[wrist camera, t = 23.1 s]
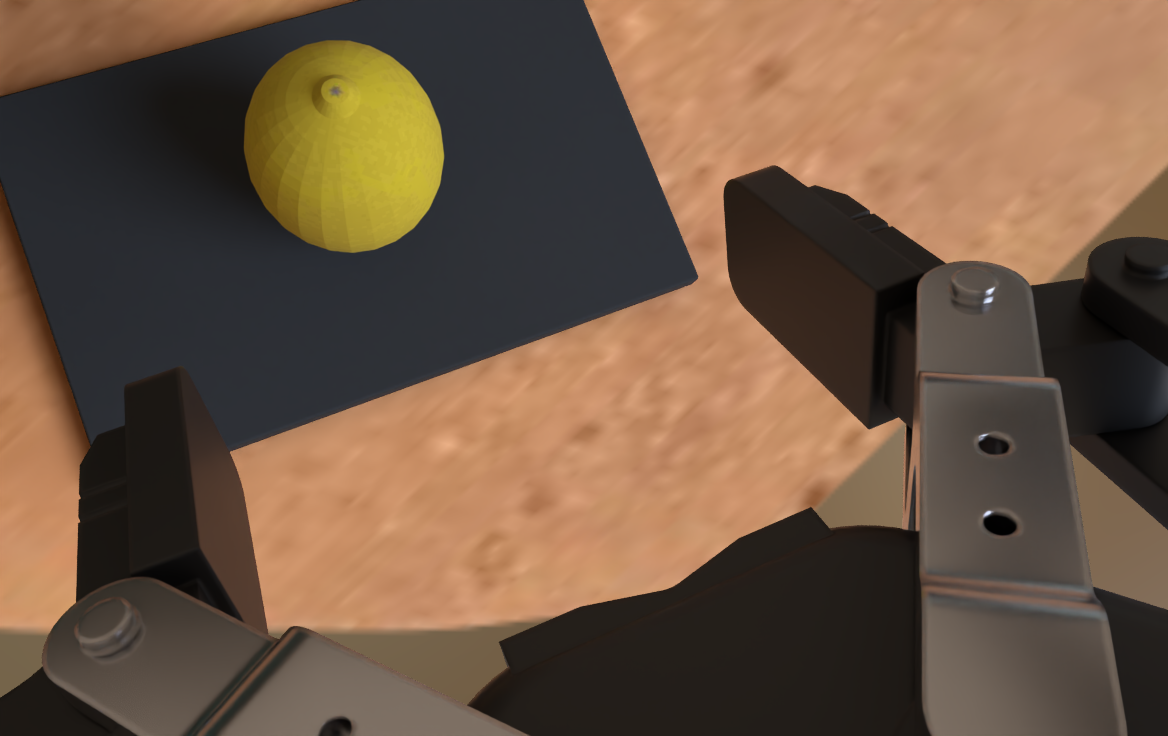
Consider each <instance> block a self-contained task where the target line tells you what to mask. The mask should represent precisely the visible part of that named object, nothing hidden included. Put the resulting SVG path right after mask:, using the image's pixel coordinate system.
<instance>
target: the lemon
mask: <svg viewBox="0 0 1168 736" xmlns="http://www.w3.org/2000/svg"><path fill="white" fill-rule="evenodd" d="M244 153H245V158H246V162H247V166H248V171H249V175H250V179H251V182H252V183H253V185H254V187H255V189H256V191H257V193H258V195H259V197H260V198H261V200H262V202H263V204H264V206H265V207H266V209H267V210H268V211H269V212H270V213H271V214H272V215H273V216H274V217H275V218H276V219H277V221H278V222H279V223H280V224H281V225H282V226H283V227H284V228H285V229H287V230H288V231H290V232H291V233H293V234H294V235H296V236H297V237H299V238H301V239H302V240H304V241H305V242H307V243H310V244H312V245H315V246H318V247H321V248H324V249H327V250H330V251H339V252H349V253H356V252H362V251H369V250H375V249H378V248H380V247H383V246H385V245H388V244H390V243H393V242H395V241H397V240H398V239H399V238H401V237H402V236H404V235H405V234H406V233H408V232H409V231H410V230H412V229H413V228H414V227H415V226H416V225H417V224H418V222H419V221H420V220H421V219H422V217H423V216H424V215H425V214H426V212H427V211H428V210H429V208H430V206H431V204H432V202H433V199H434V197H435V195H436V193H437V190H438V188H439V186H440V181H441V175H442V168H443V161H444V150H443V142H442V134H441V128H440V124H439V122H438V119H437V117H436V114H435V112H434V109H433V107H432V104H431V102H430V99H429V97H428V96H427V94H426V93H425V91H424V90H423V89H422V87H421V86H420V84H419V83H418V82H417V80H416V79H415V78H414V76H413V75H412V74H411V73H410V72H409V71H408V70H407V69H406V68H405V67H403V66H402V65H401V64H400V63H399V62H397V61H396V60H395V59H394V58H393V57H391V56H389V55H387V54H385V53H383V52H381V51H379V50H377V49H375V48H373V47H371V46H369V45H365V44H361V43H357V42H353V41H342V40H326V41H321V42H317V43H312V44H308V45H305V46H302V47H300V48H298V49H296V50H294V51H292V52H290V53H288V54H286V55H285V56H284V57H283V58H281V59H280V60H279V61H278V62H277V63H276V64H274V65H273V66H272V67H271V68H270V69H269V70H268V71H267V73H266V74H265V75H264V77H263V78H262V80H261V81H260V83H259V84H258V86H257V87H256V89H255V91H254V93H253V96H252V99H251V102H250V105H249V108H248V111H247V114H246V118H245V134H244Z"/></svg>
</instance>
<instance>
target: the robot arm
mask: <svg viewBox="0 0 1168 736" xmlns="http://www.w3.org/2000/svg"><path fill="white" fill-rule="evenodd" d="M724 212H725V228H726V244H727V260H728V272H729V277H730V281H731V284H732V287H733V290H734V292H735V294H736V296H737V298H738V300H739V301H740V303H741V304H742V306H743V307H744V308H745V309H746V310H747V311H748V312H749V313H750V314H751V315H752V316H753V317H754V318H755V319H756V320H757V321H758V322H759V323H760V324H761V325H762V326H763V327H765V328H766V329H767V330H768V331H769V332H770V333H771V334H772V335H773V336H774V337H775V338H776V339H777V340H778V341H779V342H780V343H781V344H782V345H783V346H784V347H785V348H786V349H787V350H788V351H789V352H790V353H791V354H792V355H793V356H794V357H795V358H796V359H797V360H798V361H799V362H800V363H801V364H802V365H803V366H804V367H805V368H806V369H807V370H808V371H809V372H811V373H812V374H813V375H814V376H815V377H816V378H817V379H818V380H819V381H820V382H821V383H822V384H823V385H824V386H825V387H826V388H827V389H828V390H829V391H830V392H831V393H832V394H833V395H834V396H835V397H836V398H837V399H838V400H839V401H840V402H841V403H842V404H843V405H844V406H845V407H846V408H847V409H848V410H849V411H850V412H851V413H852V414H853V415H854V416H855V417H857V418H858V419H859V420H860V421H861V422H862V423H863V424H864V425H865V426H866V427H867V428H868V429H872V428H874V427H876V426H879V425H881V424H883V423H886V422H888V421H891V420H893V419H895V418H898V417H899V418H900V419H901V420H902V421H903V422H904V423H906V427H905V439H904V484H903V529H900V528H895V527H885V526H867V525H865V526H864V525H857V526H845V527H836V528H830V529H829V528H828V526H827V525H826V524H825V523H824V522H823V520H822V519H821V518H820V517H819V516H818V515H817V513H816V512H815V511H814V510H813V509H812V507H810V508H808V509H806V510H803V511H801V512H799V513H797V514H794V515H792V516H790V517H787V518H785V519H783V520H780V521H778V522H776V523H773V524H771V525H769V526H766V527H764V528H762V529H759V530H757V531H755V532H752V533H750V534H748V535H746V536H743V537H741V538H739V539H737V540H736V541H735V542H733V543H732V544H731V545H729V546H728V547H727V548H725V549H724V550H723V551H721V552H720V553H719V554H717V555H716V556H715V557H713V558H712V559H711V560H709V561H708V562H707V563H705V564H704V565H703V566H701V567H700V568H699V569H697V570H696V571H695V572H693V573H692V574H691V575H689V576H688V577H687V578H685V579H684V580H683V581H681V582H680V583H678V584H677V585H675V586H674V587H671V588H669V589H666V590H662V591H657V592H652V593H647V594H642V595H637V596H632V597H627V598H622V599H617V600H612V601H607V602H602V603H597V604H592V605H587V606H582V607H579V608H576V609H574V610H572V611H569V612H567V613H565V614H562V615H560V616H558V617H555V618H553V619H551V620H549V621H546V622H544V623H541V624H539V625H537V626H535V627H532V628H530V629H528V630H525V631H523V632H521V633H518V634H516V635H514V636H511V637H509V638H507V639H504V640H502V641H500V642H499V643H500V646H501V649H502V652H503V655H504V658H505V661H506V664H507V667H508V668H506V669H505V670H504V671H502V672H501V673H500V674H498V675H497V676H496V677H494V678H493V679H492V680H491V681H490V682H489V683H488V684H487V685H486V686H485V687H483V688H482V689H481V690H480V691H479V692H478V693H477V694H476V696H475V697H474V698H473V699H472V700H471V701H470V702H469V704H468V705H465V704H463V703H461V702H459V701H457V700H455V699H453V698H451V697H449V696H447V695H444V694H442V693H440V692H438V691H436V690H434V689H432V688H430V687H428V686H426V685H424V684H422V683H420V682H417V681H416V680H413V679H411V678H409V677H407V676H405V675H403V674H401V673H399V672H397V671H395V670H393V669H391V668H389V667H387V666H384V665H382V664H380V663H378V662H376V661H374V660H372V659H370V658H368V657H366V656H364V655H362V654H360V653H358V652H355V651H353V650H351V649H349V648H347V647H345V646H343V645H341V644H339V643H337V642H335V641H333V640H331V639H329V638H327V637H325V636H322V635H320V634H318V633H316V632H314V631H312V630H310V629H307V628H304V627H299V626H293V627H290V628H289V629H288V630H287V631H286V632H285V633H284V634H283V635H282V637H281V638H280V639H277V638H274V637H272V636H270V635H268V629H267V623H266V618H265V612H264V606H263V601H262V595H261V589H260V583H259V578H258V572H257V566H256V560H255V555H254V549H253V543H252V538H251V532H250V526H249V520H248V515H247V509H246V503H245V497H244V492H243V488H242V484H241V481H240V478H239V475H238V472H237V469H236V466H235V464H234V461H233V459H232V457H231V454H230V452H229V450H228V448H227V446H226V444H225V442H224V440H223V438H222V437H221V435H220V433H219V431H218V429H217V427H216V425H215V423H214V421H213V419H212V417H211V415H210V413H209V411H208V410H207V408H206V406H205V404H204V402H203V400H202V398H201V396H200V394H199V392H198V390H197V388H196V386H195V384H194V383H193V381H192V379H191V377H190V375H189V374H188V372H187V371H186V369H185V368H184V367H183V366H179V367H176V368H173V369H170V370H167V371H164V372H161V373H158V374H156V375H153V376H150V377H147V378H144V379H141V380H138V381H135V382H132V383H129V384H126V385H125V387H124V407H125V425H124V426H121V427H118V428H115V429H112V430H109V431H107V432H104V433H101V434H98V435H97V436H96V438H95V440H94V441H93V443H92V445H91V447H90V448H89V450H88V452H87V454H86V456H85V457H84V459H83V461H82V463H81V464H80V478H79V495H80V497H81V499H79V514H78V517H79V519H80V523H78V551H77V587H76V603H75V604H74V605H73V606H72V607H70V608H69V609H68V610H67V611H66V612H65V613H64V614H63V615H62V616H61V618H60V619H59V620H58V621H57V623H56V624H55V625H54V627H53V628H52V630H51V632H50V633H49V635H48V637H47V640H46V642H45V645H44V649H43V653H42V664H43V667H41V669H39V670H38V671H37V672H36V673H35V674H33V675H32V676H31V677H30V678H29V679H27V680H26V681H25V682H23V683H22V684H20V685H19V686H17V687H16V688H14V689H13V690H11V691H10V692H8V693H7V694H5V695H4V696H2V697H1V698H0V736H1168V610H1166V609H1163V608H1160V607H1157V606H1153V605H1150V604H1146V603H1144V602H1140V601H1137V600H1134V599H1131V598H1128V597H1125V596H1121V595H1118V594H1115V593H1112V592H1109V591H1105V590H1102V589H1099V588H1096V587H1093V585H1092V579H1091V573H1090V566H1089V560H1088V554H1087V548H1086V542H1085V536H1084V530H1083V524H1082V517H1081V511H1080V505H1079V498H1078V492H1077V486H1076V480H1075V474H1074V467H1073V461H1072V455H1071V449H1070V444H1071V445H1072V446H1073V447H1074V448H1075V449H1076V450H1077V451H1078V452H1080V453H1081V454H1082V455H1083V456H1084V457H1085V458H1087V459H1088V460H1089V461H1090V462H1091V463H1092V464H1093V465H1095V466H1096V467H1097V468H1098V469H1099V470H1100V471H1101V472H1103V473H1104V474H1105V475H1106V476H1107V477H1108V478H1109V479H1110V480H1112V481H1113V482H1114V483H1115V484H1116V485H1117V486H1119V487H1120V488H1121V489H1122V490H1123V491H1124V492H1125V493H1126V494H1128V495H1129V496H1130V497H1131V498H1132V499H1133V500H1134V501H1136V502H1137V503H1138V504H1139V505H1140V506H1141V507H1142V508H1144V509H1145V510H1146V511H1147V512H1148V513H1149V514H1150V515H1151V516H1153V517H1154V518H1155V519H1156V520H1157V521H1158V522H1159V523H1161V524H1162V525H1163V526H1164V527H1165V528H1166V529H1167V530H1168V240H1163V239H1158V238H1148V237H1127V238H1120V239H1115V240H1111V241H1108V242H1106V243H1103V244H1101V245H1099V246H1098V247H1096V248H1095V249H1094V250H1093V251H1092V252H1091V254H1090V256H1089V258H1088V263H1087V268H1086V273H1085V277H1084V278H1083V279H1075V280H1068V281H1061V282H1054V283H1047V284H1040V285H1032V286H1030V285H1029V283H1028V282H1027V281H1026V280H1025V279H1024V278H1023V277H1022V276H1021V275H1019V274H1018V273H1016V272H1015V271H1013V270H1011V269H1009V268H1006V267H1003V266H1001V265H997V264H993V263H988V262H981V261H959V262H952V263H948V264H946V263H945V262H943V261H942V260H940V259H939V258H937V257H936V256H935V255H933V254H932V253H930V252H929V251H927V250H926V249H924V248H923V247H922V246H920V245H919V244H917V243H916V242H914V241H913V240H911V239H910V238H909V237H907V236H906V235H904V234H903V233H901V232H900V231H898V230H897V229H896V228H894V227H893V226H891V227H889V226H888V223H887V222H885V221H884V220H883V219H881V218H880V217H878V216H877V215H875V214H870V211H869V210H868V209H867V208H865V207H864V206H862V205H861V204H859V203H858V202H857V201H855V200H854V199H852V198H851V197H849V196H848V195H846V194H843V193H839V192H836V191H833V190H829V189H826V188H823V187H819V186H816V185H814V186H811V187H809V188H808V187H807V186H805V185H804V184H802V183H801V182H800V181H798V180H797V179H795V178H794V177H793V176H791V175H790V174H788V173H787V172H786V171H784V170H783V169H782V168H780V167H778V166H775V165H774V166H770V167H767V168H764V169H761V170H758V171H755V172H752V173H749V174H746V175H743V176H740V177H737V178H734V179H731V180H729V181H728V182H727V183H726V185H725V188H724Z"/></svg>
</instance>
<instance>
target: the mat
mask: <svg viewBox="0 0 1168 736" xmlns="http://www.w3.org/2000/svg"><path fill="white" fill-rule="evenodd" d="M326 40H342V41H353V42H357V43H361V44H365V45H369V46H371V47H373V48H375V49H377V50H379V51H381V52H383V53H385V54H387V55H389V56H391V57H393V58H394V59H395V60H396V61H397V62H399V63H400V64H401V65H402V66H403V67H405V68H406V69H407V70H408V71H409V72H410V73H411V74H412V75H413V76H414V78H415V79H416V80H417V82H418V83H419V84H420V86H421V87H422V89H423V90H424V91H425V93H426V94H427V96H428V97H429V99H430V102H431V104H432V107H433V109H434V112H435V114H436V117H437V119H438V122H439V124H440V128H441V134H442V142H443V150H444V161H443V168H442V175H441V181H440V186H439V188H438V190H437V193H436V195H435V197H434V199H433V202H432V204H431V206H430V208H429V210H428V211H427V212H426V214H425V215H424V216H423V217H422V219H421V220H420V221H419V222H418V224H417V225H416V226H415V227H414V228H413V229H412V230H410V231H409V232H408V233H406V234H405V235H404V236H402V237H401V238H399V239H398V240H397V241H395V242H393V243H390V244H388V245H385V246H383V247H380V248H378V249H375V250H369V251H362V252H356V253H349V252H339V251H330V250H327V249H324V248H321V247H318V246H315V245H312V244H310V243H307V242H305V241H304V240H302V239H301V238H299V237H297V236H296V235H294V234H293V233H291V232H290V231H288V230H287V229H285V228H284V227H283V226H282V225H281V224H280V223H279V222H278V221H277V219H276V218H275V217H274V216H273V215H272V214H271V213H270V212H269V211H268V210H267V209H266V207H265V206H264V204H263V202H262V200H261V198H260V197H259V195H258V193H257V191H256V189H255V187H254V185H253V183H252V182H251V179H250V175H249V171H248V166H247V162H246V158H245V153H244V134H245V118H246V114H247V111H248V108H249V105H250V102H251V99H252V96H253V93H254V91H255V89H256V87H257V86H258V84H259V83H260V81H261V80H262V78H263V77H264V75H265V74H266V73H267V71H268V70H269V69H270V68H271V67H272V66H273V65H274V64H276V63H277V62H278V61H279V60H280V59H281V58H283V57H284V56H285V55H286V54H288V53H290V52H292V51H294V50H296V49H298V48H300V47H302V46H305V45H308V44H312V43H317V42H321V41H326ZM0 182H1V185H2V188H3V191H4V194H5V197H6V200H7V203H8V206H9V209H10V212H11V215H12V218H13V221H14V223H15V226H16V229H17V232H18V235H19V238H20V241H21V244H22V247H23V250H24V253H25V256H26V259H27V262H28V264H29V267H30V270H31V273H32V276H33V279H34V282H35V285H36V288H37V291H38V294H39V297H40V300H41V303H42V305H43V308H44V311H45V314H46V317H47V320H48V323H49V326H50V329H51V332H52V335H53V338H54V341H55V344H56V346H57V349H58V352H59V355H60V358H61V361H62V364H63V367H64V370H65V373H66V376H67V379H68V382H69V385H70V387H71V390H72V393H73V396H74V399H75V402H76V405H77V408H78V411H79V414H80V417H81V420H82V423H83V426H84V428H85V431H86V434H87V437H88V440H89V443H90V446H91V445H92V443H93V441H94V440H95V438H96V436H97V435H98V434H101V433H104V432H107V431H109V430H112V429H115V428H118V427H121V426H124V425H125V407H124V387H125V385H126V384H129V383H132V382H135V381H138V380H141V379H144V378H147V377H150V376H153V375H156V374H158V373H161V372H164V371H167V370H170V369H173V368H176V367H179V366H183V367H184V368H185V369H186V371H187V372H188V374H189V375H190V377H191V379H192V381H193V383H194V384H195V386H196V388H197V390H198V392H199V394H200V396H201V398H202V400H203V402H204V404H205V406H206V408H207V410H208V411H209V413H210V415H211V417H212V419H213V421H214V423H215V425H216V427H217V429H218V431H219V433H220V435H221V437H222V438H223V440H224V442H225V444H226V446H227V448H228V450H229V452H230V451H233V450H236V449H238V448H241V447H244V446H247V445H249V444H252V443H255V442H258V441H260V440H263V439H266V438H269V437H271V436H274V435H277V434H280V433H282V432H285V431H288V430H291V429H293V428H296V427H299V426H302V425H304V424H307V423H310V422H313V421H315V420H318V419H321V418H324V417H327V416H329V415H332V414H335V413H338V412H340V411H343V410H346V409H349V408H351V407H354V406H357V405H360V404H362V403H365V402H368V401H371V400H373V399H376V398H379V397H382V396H384V395H387V394H390V393H393V392H395V391H398V390H401V389H404V388H406V387H409V386H412V385H415V384H417V383H420V382H423V381H426V380H429V379H431V378H434V377H437V376H440V375H442V374H445V373H448V372H451V371H453V370H456V369H459V368H462V367H464V366H467V365H470V364H473V363H475V362H478V361H481V360H484V359H486V358H489V357H492V356H495V355H497V354H500V353H503V352H506V351H508V350H511V349H514V348H517V347H519V346H522V345H525V344H528V343H530V342H533V341H536V340H539V339H542V338H544V337H547V336H550V335H553V334H555V333H558V332H561V331H564V330H566V329H569V328H572V327H575V326H577V325H580V324H583V323H586V322H588V321H591V320H594V319H597V318H599V317H602V316H605V315H608V314H610V313H613V312H616V311H619V310H621V309H624V308H627V307H630V306H632V305H635V304H638V303H641V302H644V301H646V300H649V299H652V298H655V297H657V296H660V295H663V294H666V293H668V292H671V291H674V290H677V289H679V288H682V287H685V286H688V285H690V284H692V283H693V282H694V281H696V280H697V279H698V275H697V272H696V270H695V267H694V265H693V263H692V260H691V258H690V255H689V253H688V251H687V248H686V246H685V243H684V241H683V239H682V236H681V234H680V231H679V229H678V227H677V224H676V222H675V219H674V217H673V214H672V212H671V210H670V207H669V205H668V202H667V200H666V198H665V195H664V193H663V190H662V188H661V186H660V183H659V181H658V178H657V176H656V174H655V171H654V169H653V166H652V164H651V162H650V159H649V157H648V154H647V152H646V150H645V147H644V145H643V142H642V140H641V137H640V135H639V133H638V130H637V128H636V125H635V123H634V121H633V118H632V116H631V113H630V111H629V109H628V106H627V104H626V101H625V99H624V97H623V94H622V92H621V89H620V87H619V85H618V82H617V80H616V77H615V75H614V73H613V70H612V68H611V65H610V63H609V60H608V58H607V56H606V53H605V51H604V48H603V46H602V44H601V41H600V39H599V36H598V34H597V32H596V29H595V27H594V24H593V22H592V20H591V17H590V15H589V12H588V10H587V8H586V5H585V3H584V0H358V1H354V2H351V3H347V4H343V5H340V6H336V7H332V8H328V9H325V10H321V11H317V12H314V13H310V14H306V15H303V16H299V17H295V18H291V19H288V20H284V21H280V22H277V23H273V24H269V25H265V26H262V27H258V28H254V29H251V30H247V31H243V32H239V33H236V34H232V35H228V36H225V37H221V38H217V39H214V40H210V41H206V42H202V43H199V44H195V45H191V46H188V47H184V48H180V49H176V50H173V51H169V52H165V53H162V54H158V55H154V56H150V57H147V58H143V59H139V60H136V61H132V62H128V63H125V64H121V65H117V66H113V67H110V68H106V69H102V70H99V71H95V72H91V73H87V74H84V75H80V76H76V77H73V78H69V79H65V80H61V81H58V82H54V83H50V84H47V85H43V86H39V87H36V88H32V89H28V90H24V91H21V92H17V93H13V94H10V95H6V96H2V97H0Z"/></svg>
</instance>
